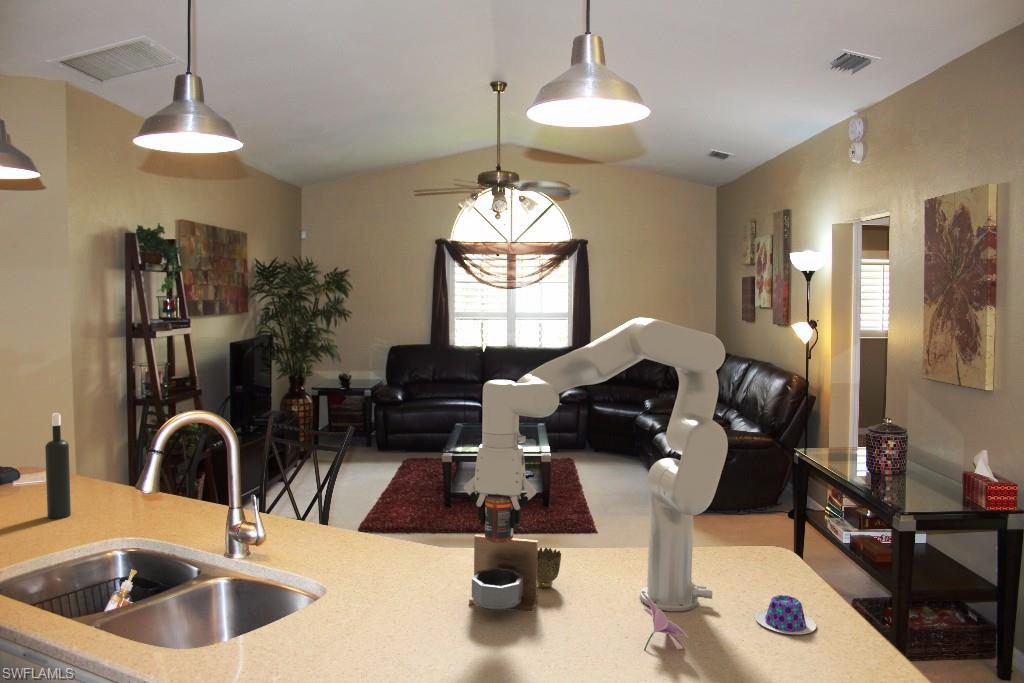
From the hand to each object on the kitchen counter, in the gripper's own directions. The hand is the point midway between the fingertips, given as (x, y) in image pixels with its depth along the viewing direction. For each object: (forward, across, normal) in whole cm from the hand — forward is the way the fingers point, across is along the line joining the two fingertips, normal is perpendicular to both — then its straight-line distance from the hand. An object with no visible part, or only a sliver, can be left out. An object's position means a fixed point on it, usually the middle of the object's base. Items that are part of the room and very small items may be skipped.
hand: (499, 524), depth 157 cm
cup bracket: (+19, 0, -2) cm, 19 cm away
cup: (+20, -7, -17) cm, 27 cm away
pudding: (+20, -59, -12) cm, 63 cm away
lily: (+20, -34, +5) cm, 40 cm away
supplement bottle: (+3, 0, 0) cm, 3 cm away
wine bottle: (+19, +138, -29) cm, 142 cm away
